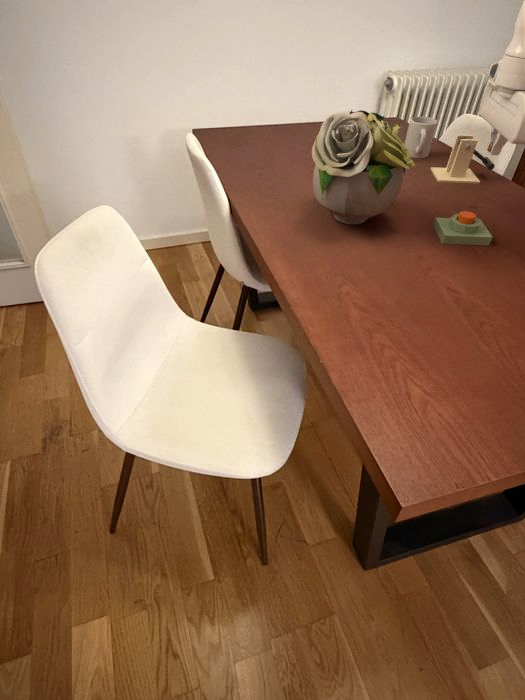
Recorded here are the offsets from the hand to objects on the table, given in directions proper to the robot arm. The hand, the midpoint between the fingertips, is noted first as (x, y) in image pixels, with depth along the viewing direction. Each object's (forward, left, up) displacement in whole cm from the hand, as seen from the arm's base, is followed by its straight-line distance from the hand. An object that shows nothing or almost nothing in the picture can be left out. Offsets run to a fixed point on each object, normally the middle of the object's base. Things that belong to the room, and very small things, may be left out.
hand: (492, 152), depth 85 cm
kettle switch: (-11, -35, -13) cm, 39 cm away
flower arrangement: (+26, -7, -19) cm, 33 cm away
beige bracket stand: (-8, -35, -19) cm, 41 cm away
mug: (0, -52, -19) cm, 55 cm away
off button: (0, 0, -16) cm, 16 cm away
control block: (0, 0, -19) cm, 19 cm away
